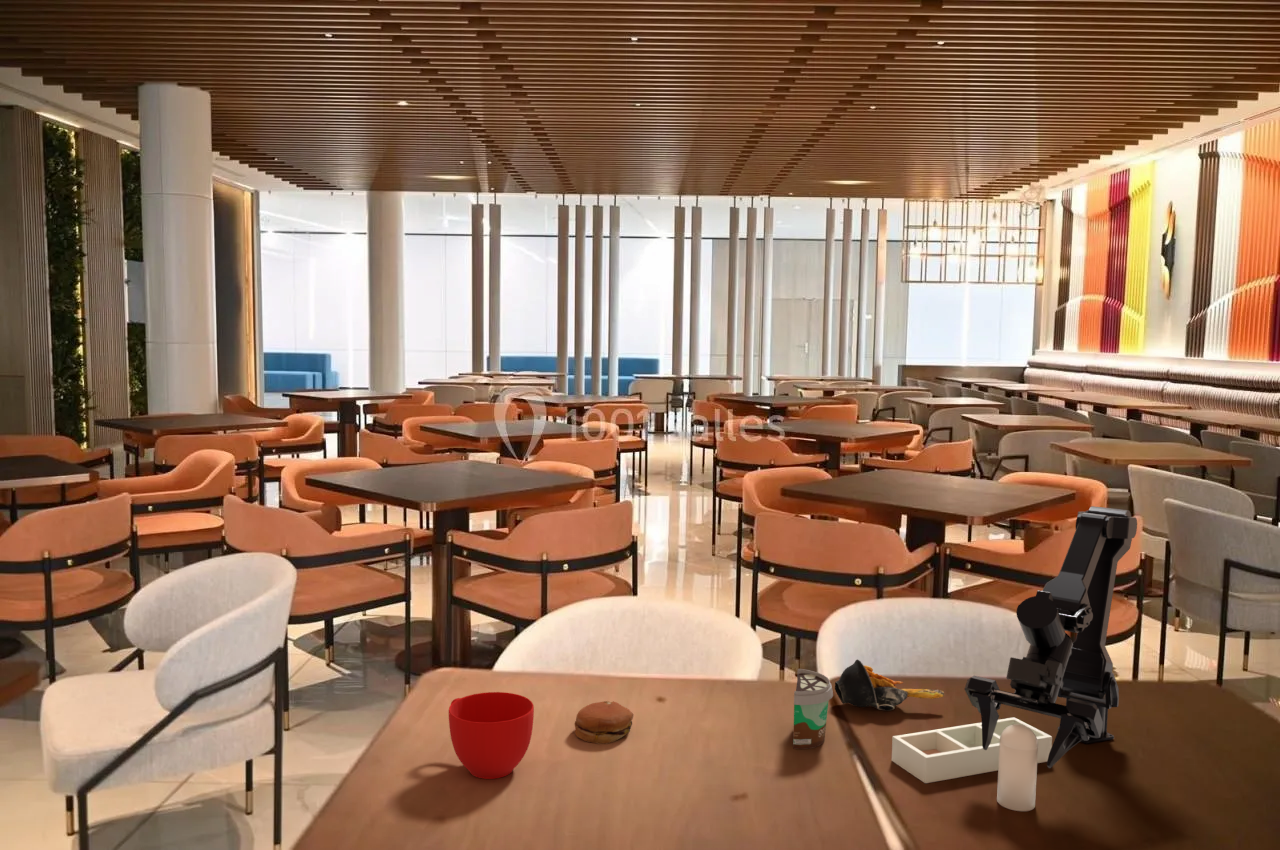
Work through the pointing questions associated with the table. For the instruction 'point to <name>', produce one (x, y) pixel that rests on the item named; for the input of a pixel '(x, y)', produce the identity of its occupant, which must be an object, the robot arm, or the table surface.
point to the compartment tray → (956, 751)
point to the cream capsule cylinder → (1017, 768)
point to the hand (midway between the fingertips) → (1015, 757)
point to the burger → (603, 722)
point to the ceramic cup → (491, 732)
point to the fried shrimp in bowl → (875, 689)
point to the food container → (810, 709)
